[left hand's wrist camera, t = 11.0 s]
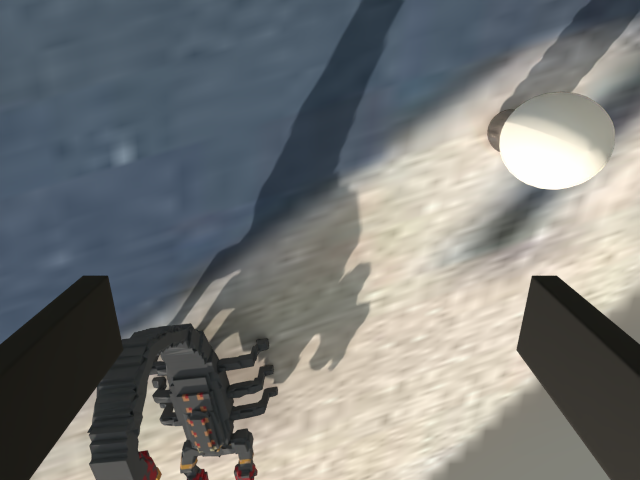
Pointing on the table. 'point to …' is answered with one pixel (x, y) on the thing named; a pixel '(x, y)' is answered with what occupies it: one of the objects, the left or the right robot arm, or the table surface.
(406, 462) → the table surface
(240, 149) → the table surface
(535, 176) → the light bulb
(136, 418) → the toy
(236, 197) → the table surface
